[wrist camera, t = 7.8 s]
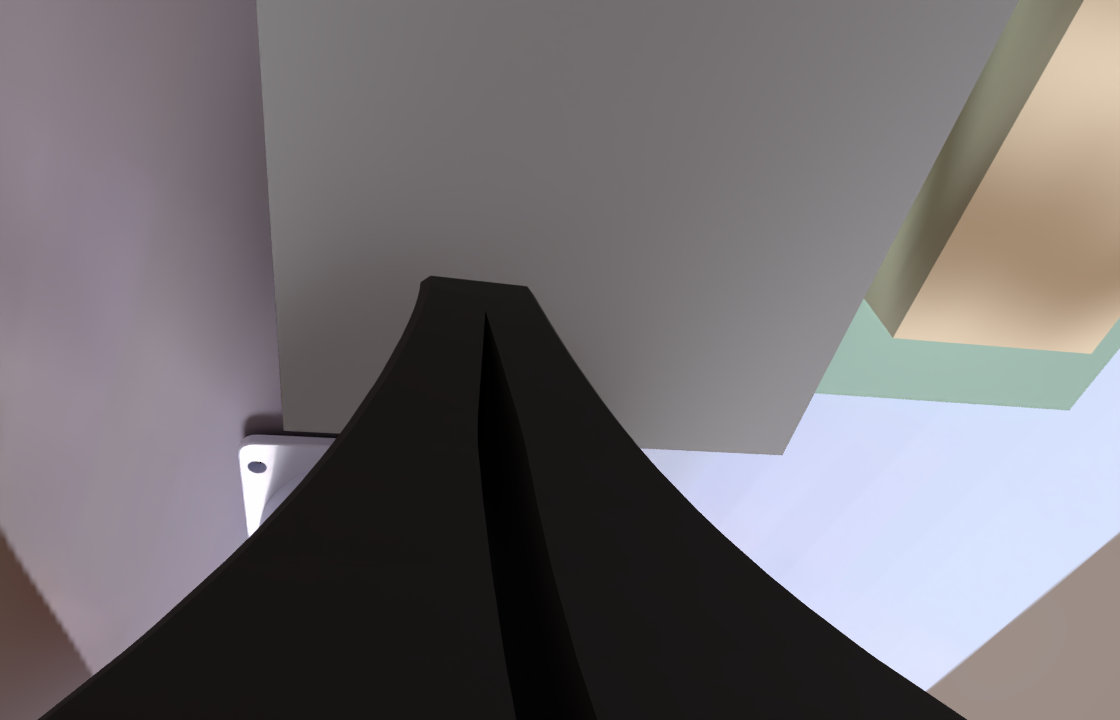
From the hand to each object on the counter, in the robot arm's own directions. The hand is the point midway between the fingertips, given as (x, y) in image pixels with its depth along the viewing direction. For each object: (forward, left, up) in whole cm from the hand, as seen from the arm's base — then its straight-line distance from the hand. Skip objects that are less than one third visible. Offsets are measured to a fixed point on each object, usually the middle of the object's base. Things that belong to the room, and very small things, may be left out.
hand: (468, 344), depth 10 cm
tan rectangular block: (+1, -14, -6) cm, 16 cm away
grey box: (+1, -3, -9) cm, 9 cm away
